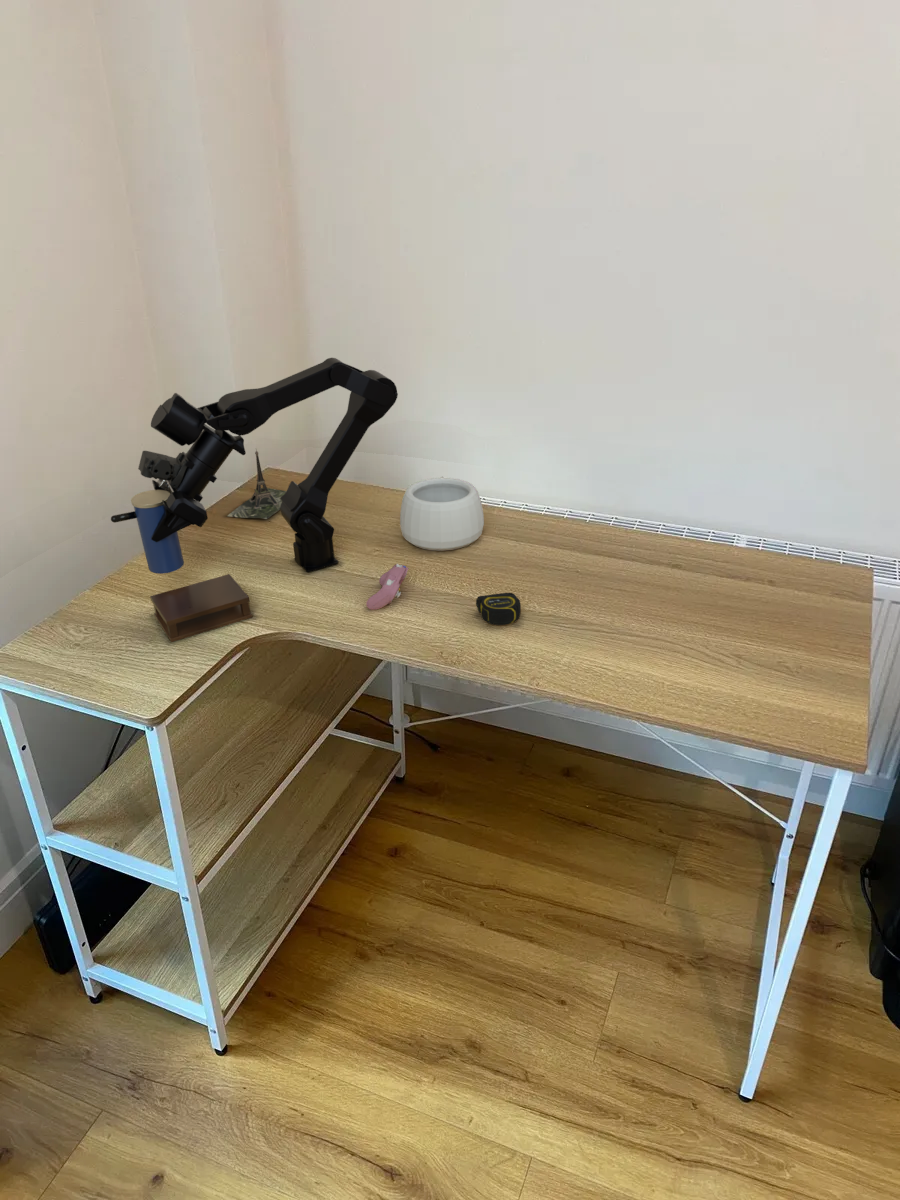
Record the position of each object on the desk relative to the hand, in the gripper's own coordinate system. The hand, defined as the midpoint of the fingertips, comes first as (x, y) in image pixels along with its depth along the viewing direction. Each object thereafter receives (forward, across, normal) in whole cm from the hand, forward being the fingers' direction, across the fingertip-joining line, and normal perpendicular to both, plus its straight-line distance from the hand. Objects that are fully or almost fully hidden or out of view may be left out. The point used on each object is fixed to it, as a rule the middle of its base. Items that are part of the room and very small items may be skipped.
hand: (150, 533), depth 147 cm
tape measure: (-25, +34, +44) cm, 61 cm away
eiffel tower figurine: (-10, -31, +28) cm, 43 cm away
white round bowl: (-30, -1, +49) cm, 57 cm away
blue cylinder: (+5, 0, +4) cm, 7 cm away
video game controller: (-16, +19, +34) cm, 42 cm away
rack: (+6, +10, +12) cm, 17 cm away
